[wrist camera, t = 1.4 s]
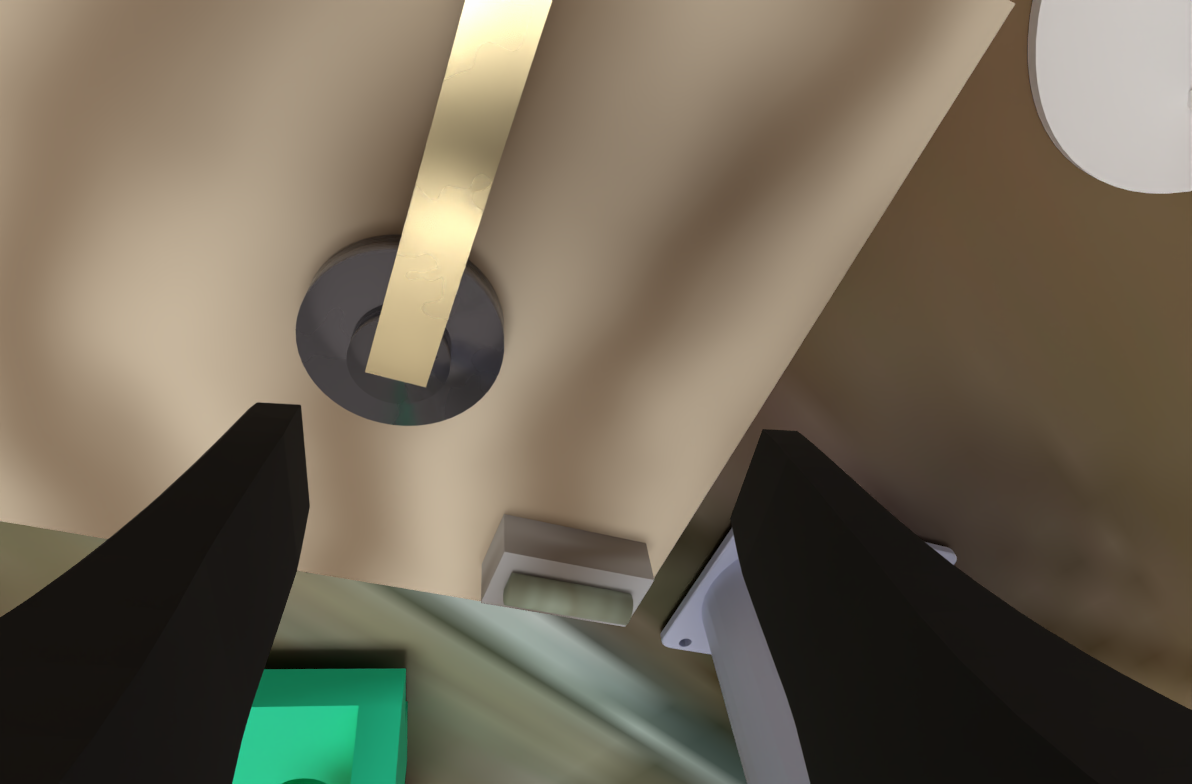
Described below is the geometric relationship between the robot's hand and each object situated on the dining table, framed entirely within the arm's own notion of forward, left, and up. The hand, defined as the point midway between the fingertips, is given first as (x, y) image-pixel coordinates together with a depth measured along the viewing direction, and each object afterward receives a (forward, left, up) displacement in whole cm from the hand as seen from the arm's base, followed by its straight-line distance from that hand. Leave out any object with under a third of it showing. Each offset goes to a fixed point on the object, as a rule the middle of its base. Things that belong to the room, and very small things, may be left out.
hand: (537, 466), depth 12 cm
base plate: (+2, +2, -10) cm, 10 cm away
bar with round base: (+2, -1, -8) cm, 8 cm away
